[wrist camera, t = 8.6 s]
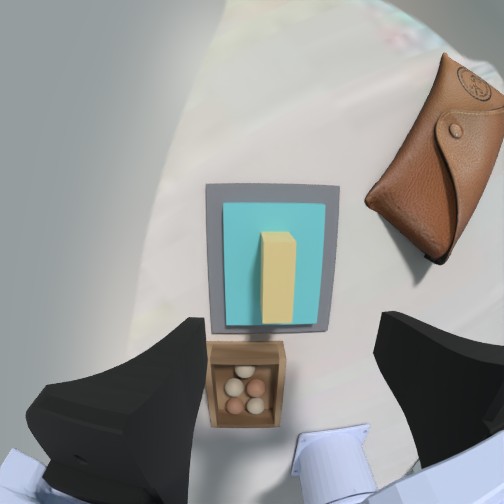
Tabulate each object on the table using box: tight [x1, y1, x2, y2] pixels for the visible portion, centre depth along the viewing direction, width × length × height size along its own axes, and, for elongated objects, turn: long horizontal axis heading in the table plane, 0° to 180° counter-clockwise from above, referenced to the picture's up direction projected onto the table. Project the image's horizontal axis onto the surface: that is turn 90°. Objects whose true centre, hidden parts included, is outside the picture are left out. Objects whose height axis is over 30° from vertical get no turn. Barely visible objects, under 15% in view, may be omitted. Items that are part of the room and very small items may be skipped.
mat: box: [206, 183, 340, 333], centre depth 20 cm, size 11×9×1 cm
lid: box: [223, 203, 326, 325], centre depth 18 cm, size 9×7×4 cm
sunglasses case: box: [365, 53, 504, 265], centre depth 17 cm, size 18×7×7 cm, turn 149°
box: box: [206, 341, 286, 428], centre depth 22 cm, size 8×6×2 cm
